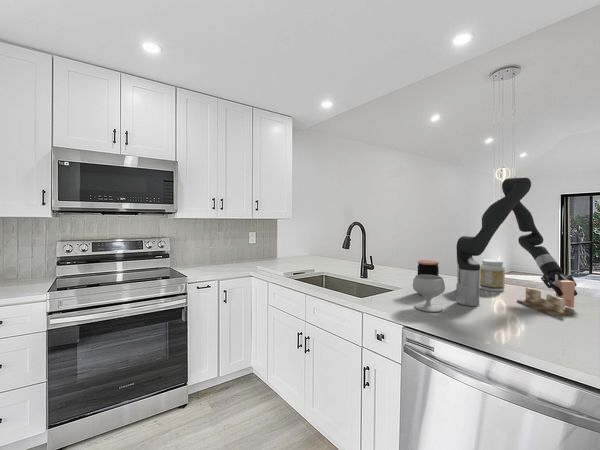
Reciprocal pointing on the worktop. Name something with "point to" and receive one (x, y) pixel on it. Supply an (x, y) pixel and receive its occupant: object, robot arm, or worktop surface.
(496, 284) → the supplement tub
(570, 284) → the slotted upright
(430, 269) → the coffee jar
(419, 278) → the chalice
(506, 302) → the worktop surface
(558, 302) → the ridged rail
